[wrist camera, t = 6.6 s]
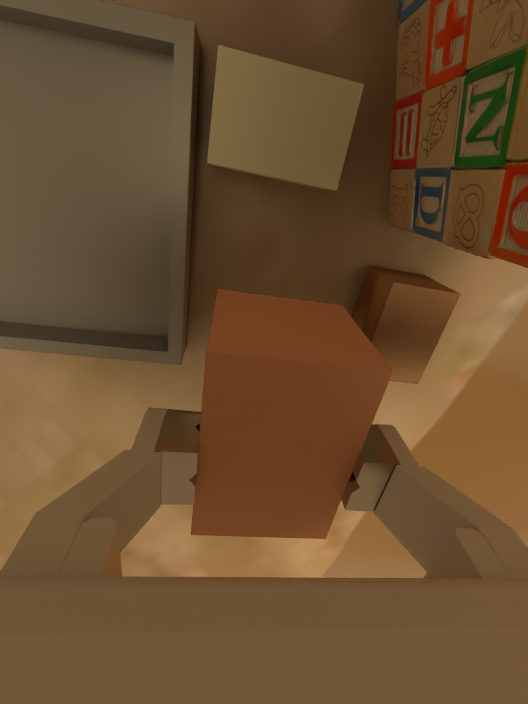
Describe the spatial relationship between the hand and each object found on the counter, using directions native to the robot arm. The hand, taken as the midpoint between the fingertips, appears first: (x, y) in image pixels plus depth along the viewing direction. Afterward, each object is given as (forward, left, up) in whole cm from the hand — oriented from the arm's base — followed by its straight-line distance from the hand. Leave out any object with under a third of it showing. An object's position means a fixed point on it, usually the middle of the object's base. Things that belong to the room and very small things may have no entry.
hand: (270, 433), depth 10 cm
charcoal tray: (-4, -11, -13) cm, 18 cm away
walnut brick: (0, +9, -13) cm, 16 cm away
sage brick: (-9, 0, -13) cm, 16 cm away
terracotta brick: (0, 0, -3) cm, 3 cm away
